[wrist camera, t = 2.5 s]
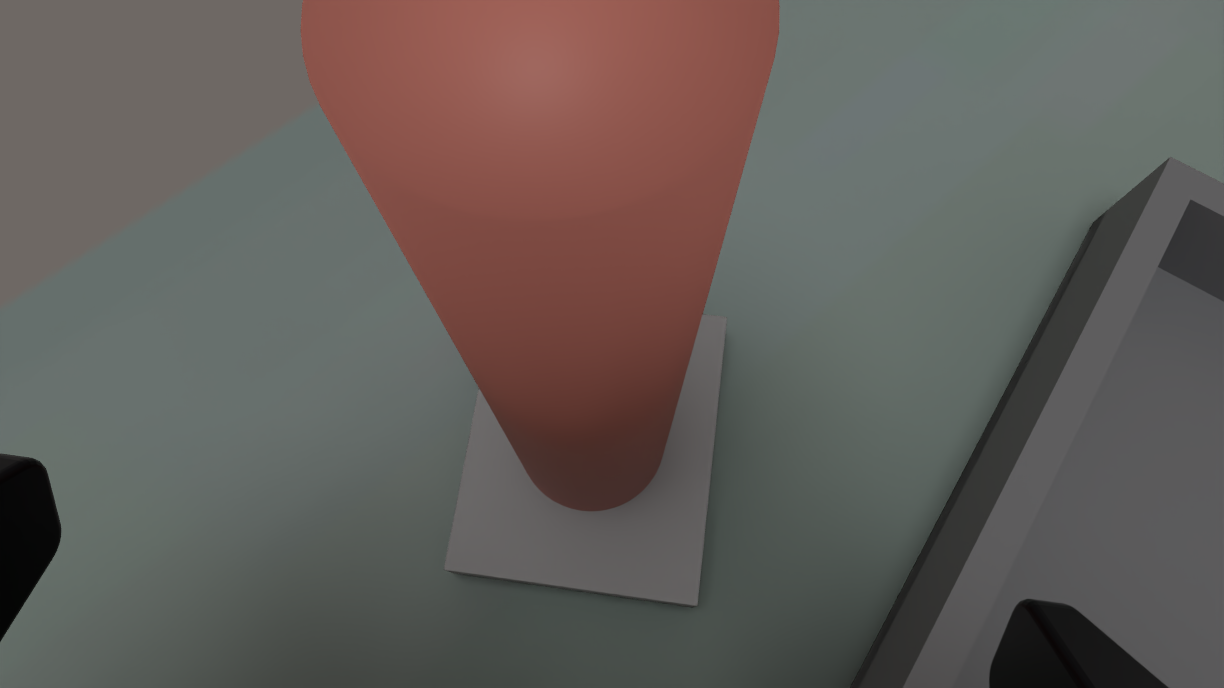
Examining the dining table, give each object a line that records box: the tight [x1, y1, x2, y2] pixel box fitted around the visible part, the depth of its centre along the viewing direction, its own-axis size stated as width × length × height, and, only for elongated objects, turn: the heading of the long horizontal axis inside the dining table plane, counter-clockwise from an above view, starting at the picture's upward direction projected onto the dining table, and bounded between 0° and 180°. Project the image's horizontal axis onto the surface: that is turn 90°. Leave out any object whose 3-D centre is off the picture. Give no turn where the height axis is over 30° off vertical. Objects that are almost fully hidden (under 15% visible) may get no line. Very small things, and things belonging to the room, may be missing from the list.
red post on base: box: [301, 0, 779, 607], centre depth 12 cm, size 6×5×14 cm
